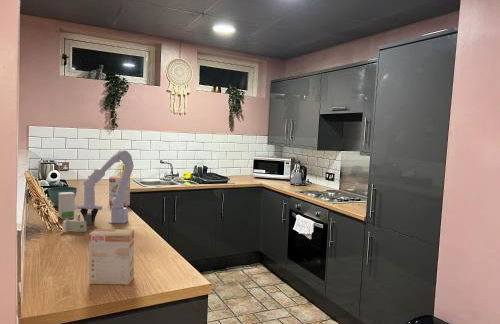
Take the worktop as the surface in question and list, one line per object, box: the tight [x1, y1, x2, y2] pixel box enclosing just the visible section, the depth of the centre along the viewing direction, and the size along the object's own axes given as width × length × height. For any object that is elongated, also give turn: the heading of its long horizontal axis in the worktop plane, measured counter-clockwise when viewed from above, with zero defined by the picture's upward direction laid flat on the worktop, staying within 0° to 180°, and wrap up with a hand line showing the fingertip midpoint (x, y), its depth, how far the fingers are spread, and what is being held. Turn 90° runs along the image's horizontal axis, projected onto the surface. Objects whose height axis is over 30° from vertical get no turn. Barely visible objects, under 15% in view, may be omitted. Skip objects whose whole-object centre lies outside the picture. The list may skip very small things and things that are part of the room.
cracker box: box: [108, 175, 131, 207], centre depth 269 cm, size 14×6×21 cm, turn 73°
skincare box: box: [57, 192, 76, 220], centre depth 230 cm, size 8×7×16 cm
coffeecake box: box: [88, 228, 135, 286], centre depth 141 cm, size 15×7×20 cm, turn 92°
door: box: [68, 219, 87, 233], centre depth 202 cm, size 2×10×6 cm, turn 81°
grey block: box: [83, 212, 96, 226], centre depth 218 cm, size 4×5×6 cm
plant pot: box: [47, 186, 78, 207], centre depth 261 cm, size 18×18×12 cm
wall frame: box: [62, 213, 81, 233], centre depth 209 cm, size 2×18×6 cm, turn 0°
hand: (89, 221), depth 218 cm, fingers closed on grey block, 4 cm apart
